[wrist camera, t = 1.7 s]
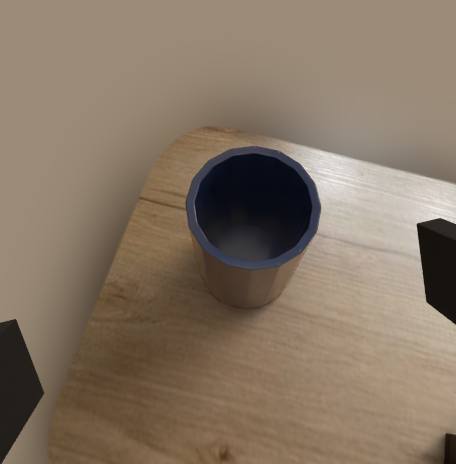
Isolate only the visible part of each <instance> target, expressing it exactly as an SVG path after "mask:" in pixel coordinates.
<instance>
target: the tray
mask: <svg viewBox="0 0 456 464" xmlns="http://www.w3.org/2000/svg"><path fill="white" fill-rule="evenodd" d="M444 464H456V435H453V434H448V433H446V443H445V459H444Z"/></svg>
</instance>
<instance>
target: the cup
mask: <svg viewBox="0 0 456 464" xmlns="http://www.w3.org/2000/svg"><path fill="white" fill-rule="evenodd" d="M186 210H187V218H188V225H189V230H190V234H191V238H192V242H193V246H194V250H195V254H196V258H197V262H198V266H199V270H200V274H201V278H202V280H203V282H204V284H205V286H206V288H207V289H208V290H209V292H210V293H211V294H212V295H213V296H214V297H215V298H216V299H217V300H218V301H220V302H222V303H223V304H225V305H227V306H230V307H233V308H237V309H255V308H259V307H262V306H265V305H267V304H269V303H271V302H272V301H273V300H275V299H276V298H277V297H278V296H280V294H281V293H282V291H283V290H284V288H285V287H286V285H287V284H288V283H289V281H290V279H291V277H292V276H293V274H294V272H295V270H296V268H297V267H298V265H299V263H300V261H301V259H302V258H303V256H304V254H305V252H306V250H307V249H308V247H309V245H310V243H311V242H312V240H313V238H314V236H315V234H316V232H317V229H318V224H319V219H320V213H321V204H320V200H319V196H318V192H317V188H316V184H315V182H314V181H313V180H312V178H311V177H310V176H309V175H308V173H307V172H306V171H305V169H304V168H303V167H302V165H300V163H298V162H296V161H295V160H293V159H292V158H290V157H288V156H287V155H285V154H283V153H282V152H280V151H277V150H272V149H268V148H263V147H258V146H250V147H242V148H235V149H230V150H227V151H226V152H224V153H222V154H220V155H218V156H216V157H214V158H212V159H210V160H209V161H208V162H207V163H206V164H205V165H204V166H203V167H202V169H201V170H200V171H199V172H198V173H197V175H196V176H195V177H194V178H193V180H192V182H191V186H190V189H189V192H188V196H187V199H186Z"/></svg>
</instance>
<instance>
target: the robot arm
mask: <svg viewBox="0 0 456 464" xmlns="http://www.w3.org/2000/svg"><path fill="white" fill-rule="evenodd" d="M417 231H418V239H419V246H420V254H421V262H422V270H423V278H424V286H425V294H426V302H427V303H428V304H430V305H431V306H432V307H434V308H435V309H436V310H437V311H439V312H440V313H441V314H443V315H444V316H445V317H447V318H448V319H449V320H450V321H452V322H453V323H454V324H456V224H454V223H452V222H449V221H446V220H444V219H441V218H439V219H434V220H430V221H426V222H422V223H418V224H417ZM43 394H44V391H43V389H42V386H41V383H40V381H39V378H38V375H37V373H36V370H35V368H34V365H33V362H32V360H31V357H30V354H29V352H28V349H27V347H26V344H25V341H24V339H23V336H22V334H21V331H20V328H19V326H18V323H17V320H16V319H14V320H10V321H6V322H2V323H0V464H2V462H3V460H4V459H5V457H6V455H7V454H8V452H9V450H10V449H11V447H12V445H13V443H14V442H15V441H16V439H17V437H18V435H19V434H20V432H21V431H22V429H23V427H24V425H25V424H26V422H27V421H28V419H29V417H30V416H31V414H32V412H33V411H34V409H35V408H36V406H37V404H38V403H39V401H40V399H41V398H42V396H43Z"/></svg>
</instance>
